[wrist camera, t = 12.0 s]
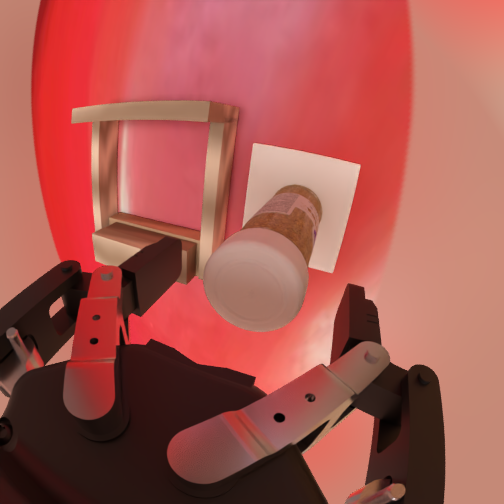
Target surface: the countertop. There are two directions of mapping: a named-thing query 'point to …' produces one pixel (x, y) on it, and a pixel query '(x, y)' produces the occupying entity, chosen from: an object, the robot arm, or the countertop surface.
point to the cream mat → (314, 178)
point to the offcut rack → (146, 230)
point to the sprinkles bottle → (266, 263)
